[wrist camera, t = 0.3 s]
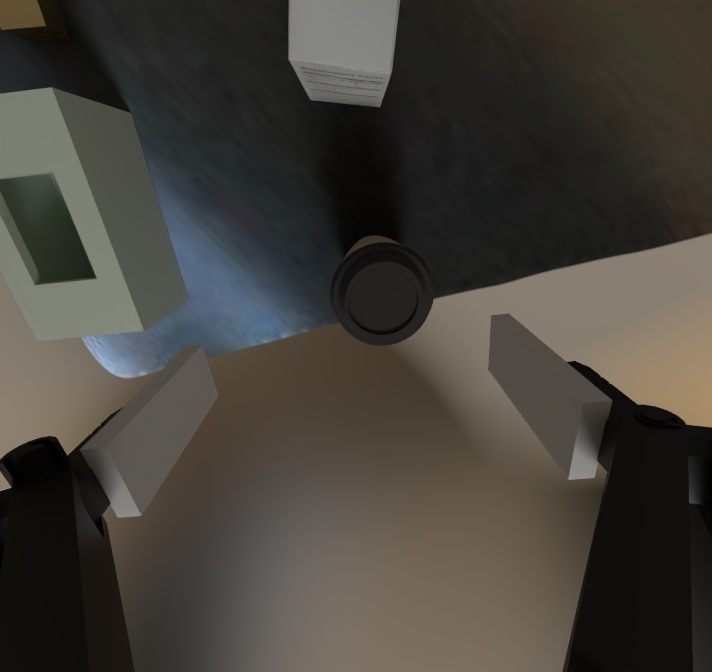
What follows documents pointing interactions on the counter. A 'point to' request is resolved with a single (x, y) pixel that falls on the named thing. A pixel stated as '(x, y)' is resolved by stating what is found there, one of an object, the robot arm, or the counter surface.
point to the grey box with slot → (81, 219)
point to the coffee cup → (381, 291)
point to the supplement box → (343, 48)
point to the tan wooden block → (33, 19)
